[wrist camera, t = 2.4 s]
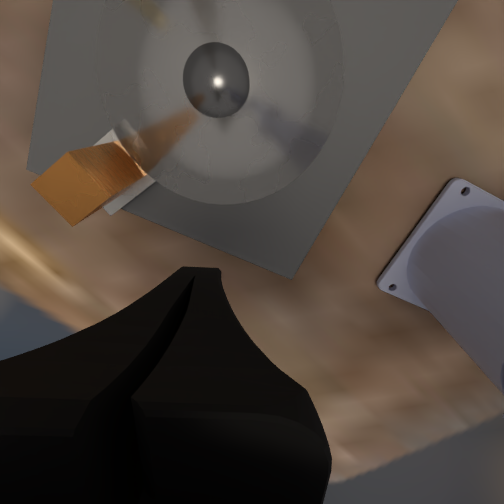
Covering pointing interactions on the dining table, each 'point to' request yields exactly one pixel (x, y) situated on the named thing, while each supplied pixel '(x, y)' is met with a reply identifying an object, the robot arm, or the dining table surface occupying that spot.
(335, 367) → the dining table surface
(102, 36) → the lidded saucepan
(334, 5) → the base plate
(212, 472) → the robot arm
